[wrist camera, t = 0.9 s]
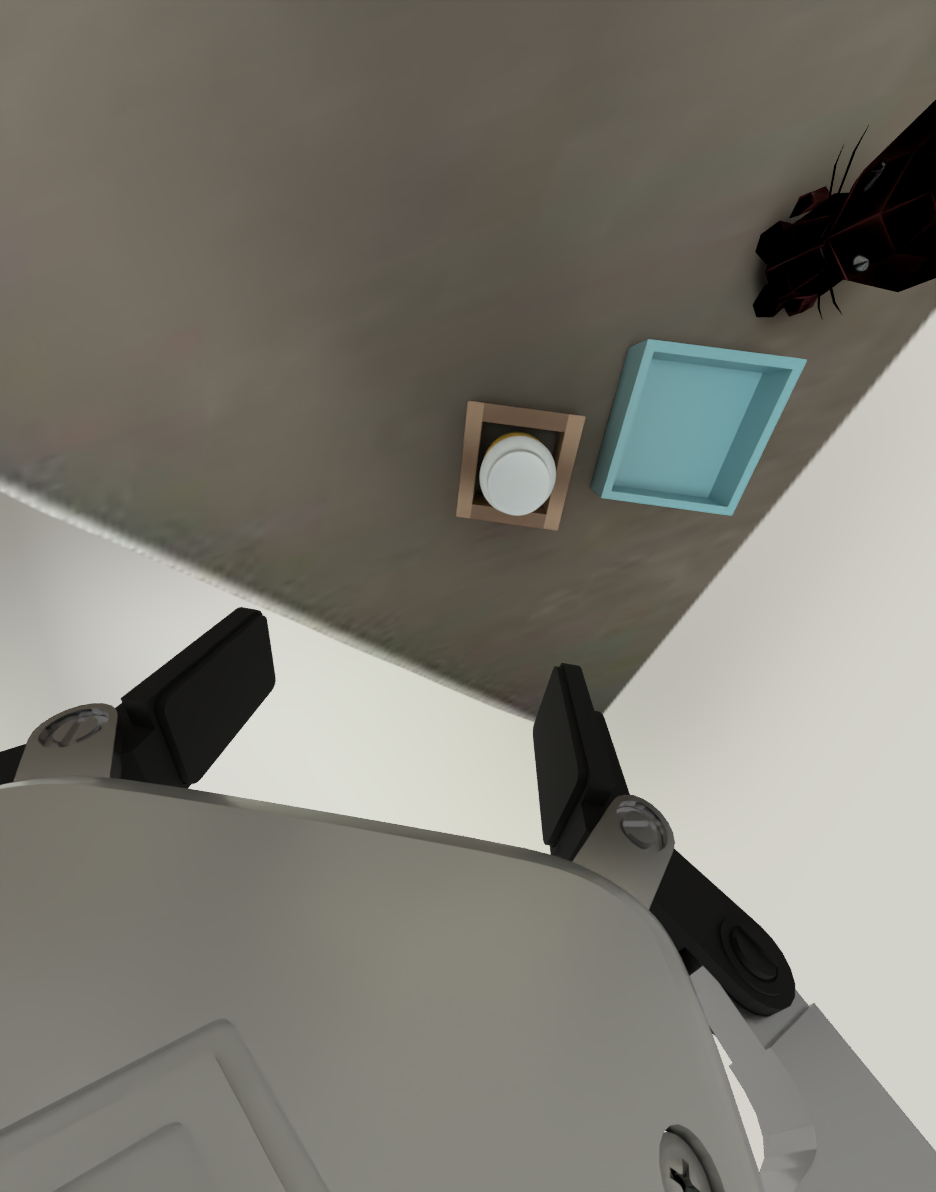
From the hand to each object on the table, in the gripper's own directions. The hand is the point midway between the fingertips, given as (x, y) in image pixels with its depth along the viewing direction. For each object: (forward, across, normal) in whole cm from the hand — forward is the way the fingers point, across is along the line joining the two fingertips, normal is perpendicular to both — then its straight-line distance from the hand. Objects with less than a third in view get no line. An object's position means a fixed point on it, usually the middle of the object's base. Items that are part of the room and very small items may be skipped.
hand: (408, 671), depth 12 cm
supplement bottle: (+24, -4, -4) cm, 25 cm away
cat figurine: (+24, -19, -19) cm, 36 cm away
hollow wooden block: (+24, -4, -4) cm, 25 cm away
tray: (+24, -15, -8) cm, 30 cm away
